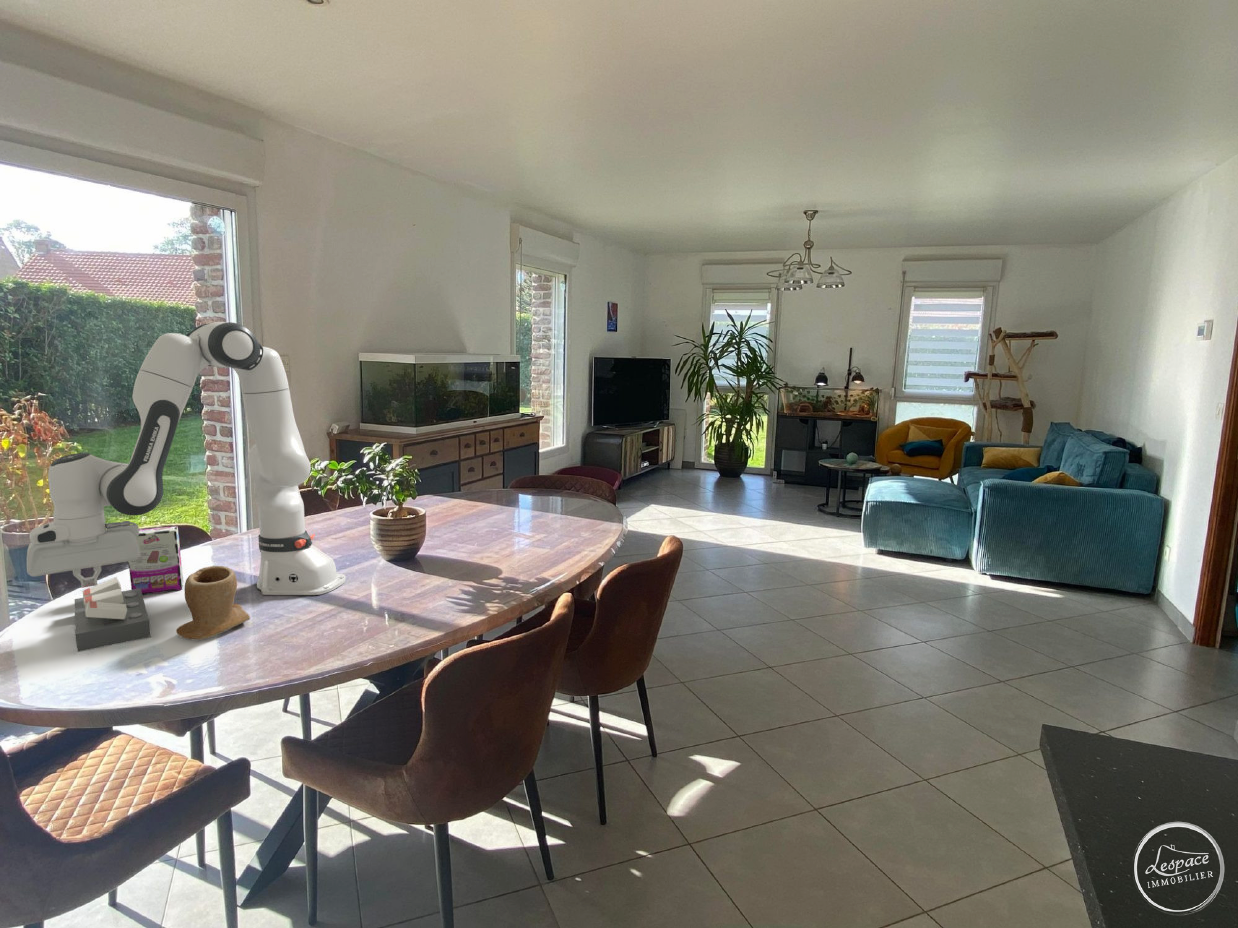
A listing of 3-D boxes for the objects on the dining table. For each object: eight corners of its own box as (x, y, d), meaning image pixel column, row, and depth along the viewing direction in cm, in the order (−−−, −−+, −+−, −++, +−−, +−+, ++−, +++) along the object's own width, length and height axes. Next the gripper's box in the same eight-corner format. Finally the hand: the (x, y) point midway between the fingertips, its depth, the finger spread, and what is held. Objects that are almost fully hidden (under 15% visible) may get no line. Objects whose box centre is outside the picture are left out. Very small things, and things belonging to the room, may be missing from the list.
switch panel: (142, 603, 174) (140, 583, 173) (150, 636, 155) (148, 614, 154) (76, 614, 166) (73, 594, 165) (77, 651, 147) (74, 628, 146)
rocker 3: (123, 612, 157) (126, 603, 157) (124, 619, 153) (127, 609, 153) (85, 610, 152) (88, 600, 152) (85, 616, 149) (88, 607, 149)
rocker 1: (120, 583, 168) (116, 576, 167) (121, 589, 165) (117, 581, 164) (86, 598, 165) (82, 590, 164) (87, 604, 161) (82, 596, 160)
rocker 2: (122, 596, 163) (120, 587, 162) (123, 602, 159) (121, 593, 159) (85, 605, 158) (83, 597, 158) (86, 611, 155) (83, 603, 154)
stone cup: (204, 648, 150) (198, 582, 147) (168, 637, 155) (162, 573, 152) (265, 623, 164) (261, 562, 161) (230, 614, 169) (225, 555, 166)
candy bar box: (184, 584, 187) (178, 525, 184) (182, 590, 183) (177, 530, 180) (134, 590, 182) (127, 529, 179) (131, 596, 178) (124, 534, 175)
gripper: (136, 516, 163) (143, 572, 165) (22, 531, 150) (32, 591, 153) (138, 522, 158) (146, 580, 160) (20, 538, 145) (31, 600, 148)
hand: (89, 585), depth 157 cm, fingers closed
